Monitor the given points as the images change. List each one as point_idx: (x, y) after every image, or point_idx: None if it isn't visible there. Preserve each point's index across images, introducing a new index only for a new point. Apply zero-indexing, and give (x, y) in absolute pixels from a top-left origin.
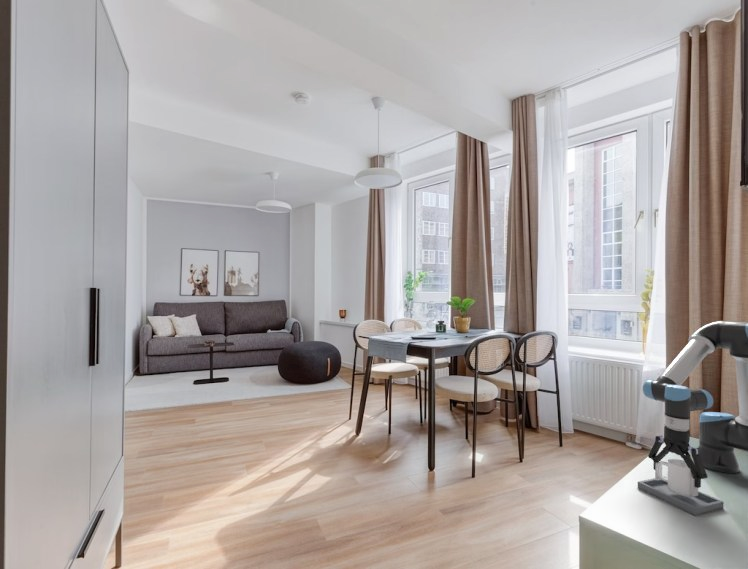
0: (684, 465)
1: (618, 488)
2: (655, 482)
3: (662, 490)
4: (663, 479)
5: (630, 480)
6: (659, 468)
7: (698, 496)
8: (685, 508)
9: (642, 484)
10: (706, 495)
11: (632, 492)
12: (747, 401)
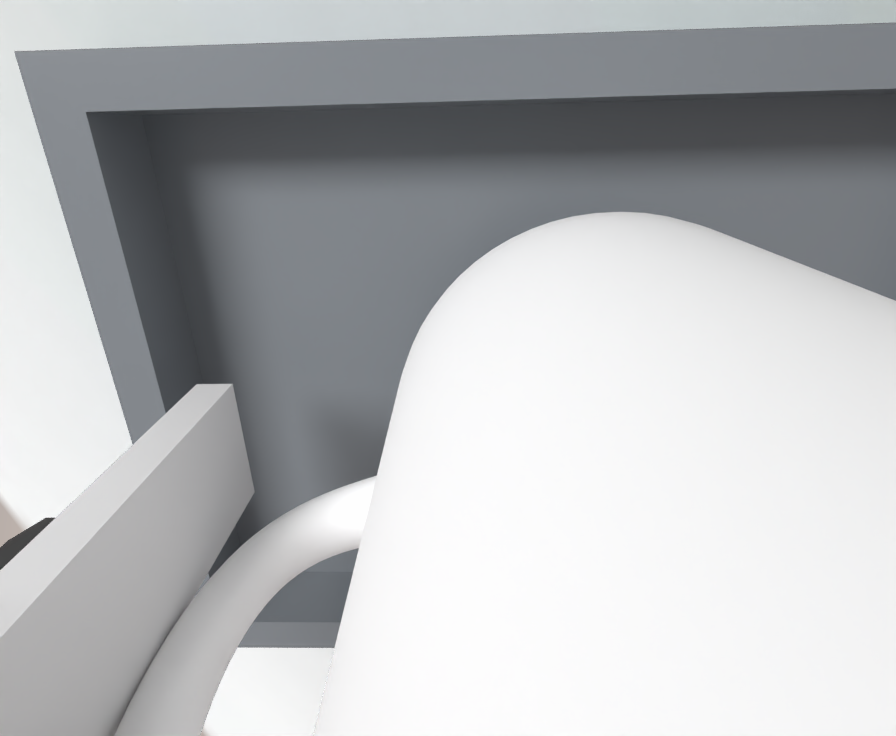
0: (737, 523)
1: (210, 725)
2: (181, 364)
3: (358, 420)
4: (349, 547)
5: (31, 492)
6: (201, 726)
7: (696, 97)
8: None
9: (259, 638)
10: (877, 83)
11: (301, 685)
12: None
